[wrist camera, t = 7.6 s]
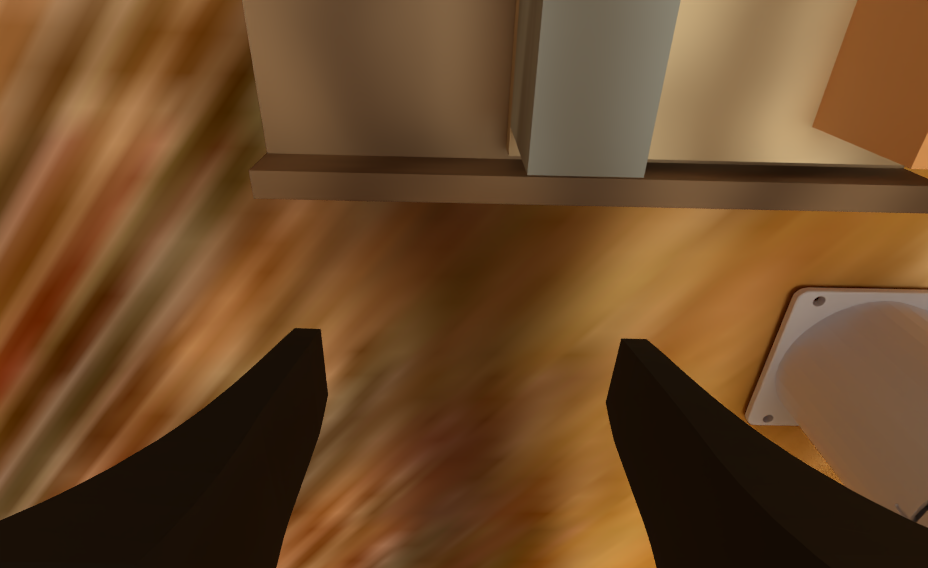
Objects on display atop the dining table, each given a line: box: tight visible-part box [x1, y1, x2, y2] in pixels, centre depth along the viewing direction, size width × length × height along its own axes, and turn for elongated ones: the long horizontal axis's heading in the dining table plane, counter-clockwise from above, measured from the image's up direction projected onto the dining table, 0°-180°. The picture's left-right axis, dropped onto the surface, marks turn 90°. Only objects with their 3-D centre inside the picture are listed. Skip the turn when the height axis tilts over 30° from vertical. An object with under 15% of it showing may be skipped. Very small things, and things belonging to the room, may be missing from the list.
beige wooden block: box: [506, 0, 901, 178], centre depth 15 cm, size 16×7×6 cm, turn 88°
